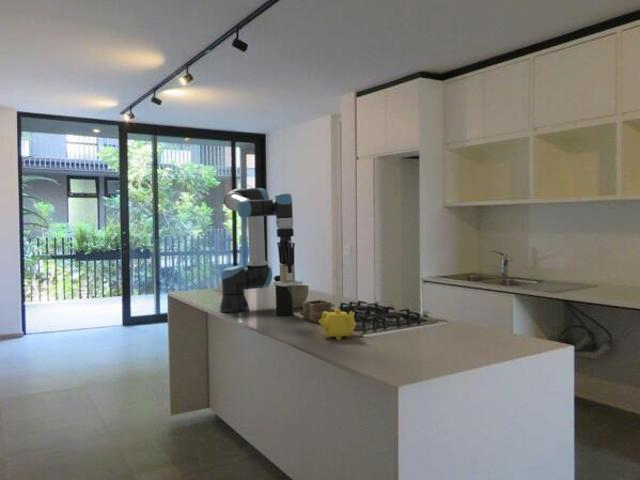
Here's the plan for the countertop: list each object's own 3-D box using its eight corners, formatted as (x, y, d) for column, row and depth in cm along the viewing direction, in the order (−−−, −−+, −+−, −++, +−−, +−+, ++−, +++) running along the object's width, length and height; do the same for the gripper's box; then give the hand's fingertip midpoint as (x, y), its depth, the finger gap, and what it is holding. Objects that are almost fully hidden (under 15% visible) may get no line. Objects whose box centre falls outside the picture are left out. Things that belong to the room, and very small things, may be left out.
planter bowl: (296, 303, 297) (295, 284, 297) (315, 306, 286) (314, 285, 285) (273, 307, 287) (272, 287, 286) (292, 310, 275) (291, 289, 274)
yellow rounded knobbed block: (339, 329, 225) (338, 303, 225) (371, 334, 213) (370, 307, 212) (304, 338, 211) (303, 311, 211) (337, 345, 199) (336, 315, 198)
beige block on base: (273, 284, 242) (272, 264, 242) (292, 282, 247) (291, 262, 247) (282, 286, 234) (281, 265, 233) (302, 284, 238) (301, 263, 238)
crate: (303, 319, 251) (302, 302, 251) (321, 316, 256) (320, 299, 256) (313, 322, 243) (312, 304, 242) (332, 319, 248) (331, 302, 247)
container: (293, 316, 260) (291, 275, 259) (274, 316, 260) (272, 276, 259) (294, 312, 269) (292, 273, 268) (276, 313, 269) (274, 274, 268)
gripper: (270, 228, 244) (272, 279, 245) (285, 228, 230) (287, 282, 231) (284, 227, 248) (287, 277, 249) (300, 227, 234) (303, 280, 235)
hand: (287, 279), depth 240 cm, fingers closed on beige block on base, 3 cm apart
